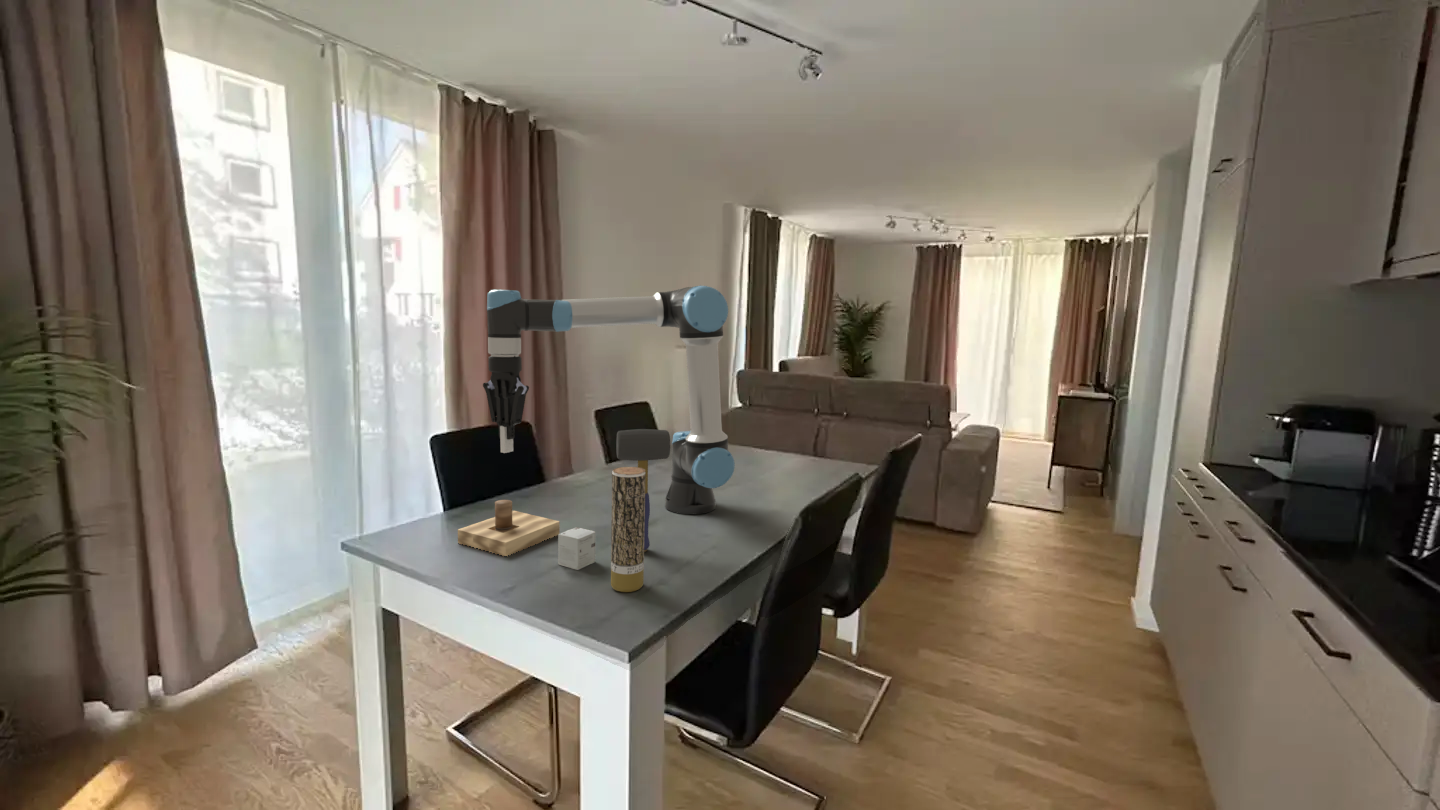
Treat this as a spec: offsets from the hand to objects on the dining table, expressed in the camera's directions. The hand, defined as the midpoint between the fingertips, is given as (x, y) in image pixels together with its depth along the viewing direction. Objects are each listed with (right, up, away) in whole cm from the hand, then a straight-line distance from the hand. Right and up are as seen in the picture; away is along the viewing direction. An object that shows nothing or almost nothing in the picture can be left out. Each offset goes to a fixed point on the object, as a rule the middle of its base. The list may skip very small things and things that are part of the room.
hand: (507, 451), depth 152 cm
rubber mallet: (+33, -24, -2) cm, 41 cm away
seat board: (0, -22, +3) cm, 22 cm away
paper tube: (+33, -27, -21) cm, 48 cm away
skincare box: (+19, -25, -10) cm, 33 cm away
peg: (-1, -22, +2) cm, 22 cm away
